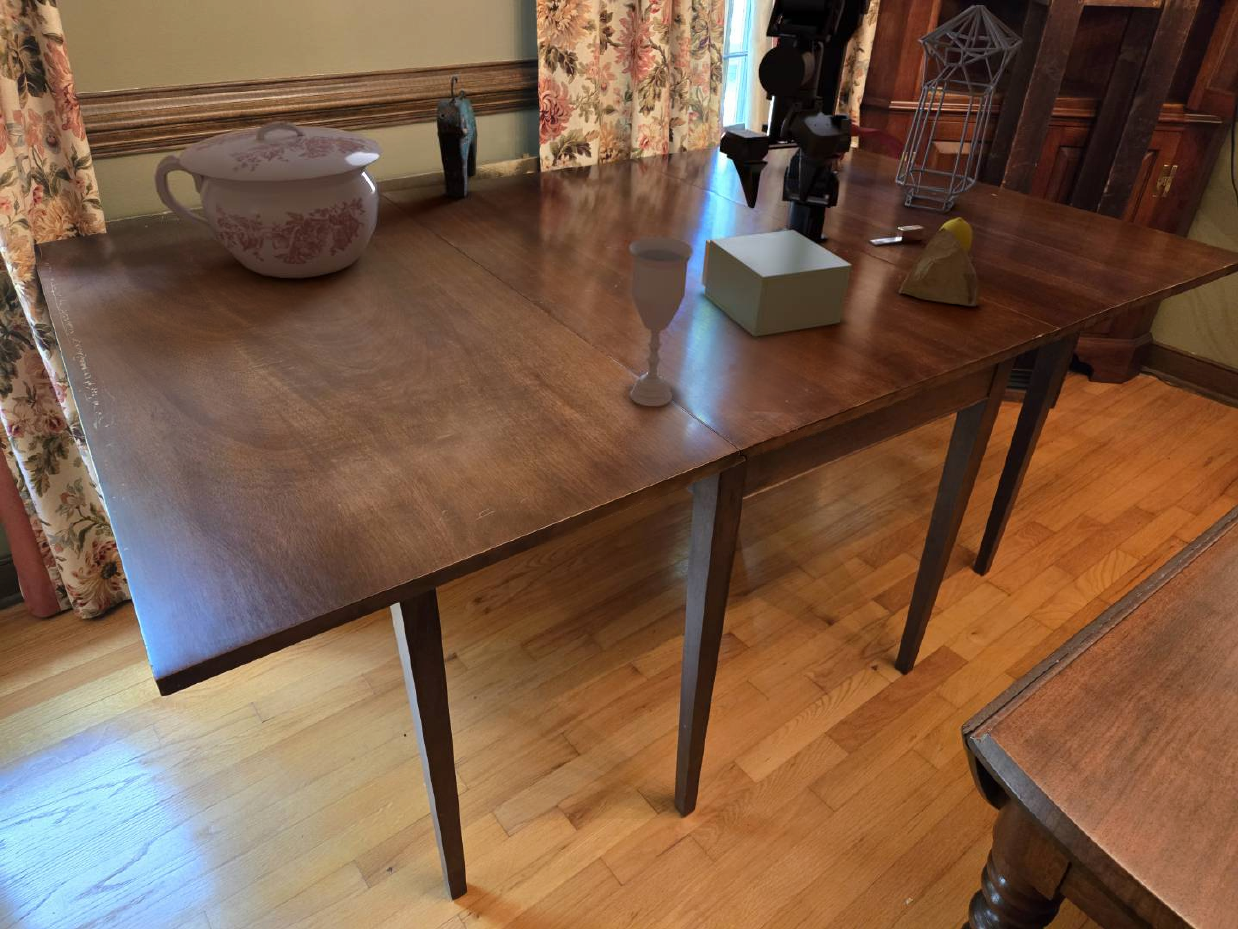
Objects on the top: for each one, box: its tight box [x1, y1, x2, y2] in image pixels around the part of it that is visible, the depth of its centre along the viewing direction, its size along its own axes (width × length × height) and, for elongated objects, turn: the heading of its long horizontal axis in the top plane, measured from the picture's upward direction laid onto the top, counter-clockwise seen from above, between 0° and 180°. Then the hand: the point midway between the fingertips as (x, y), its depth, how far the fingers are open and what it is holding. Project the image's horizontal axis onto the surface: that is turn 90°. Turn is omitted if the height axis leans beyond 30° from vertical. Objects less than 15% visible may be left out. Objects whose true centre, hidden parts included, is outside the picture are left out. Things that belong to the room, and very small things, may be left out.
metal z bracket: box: [869, 224, 925, 247], centre depth 145 cm, size 10×2×2 cm, turn 113°
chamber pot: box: [153, 120, 384, 279], centre depth 121 cm, size 28×28×21 cm
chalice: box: [628, 236, 694, 407], centre depth 93 cm, size 7×7×18 cm
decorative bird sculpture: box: [777, 122, 904, 170], centre depth 182 cm, size 28×9×15 cm
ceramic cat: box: [436, 76, 478, 198], centre depth 158 cm, size 20×6×20 cm, turn 179°
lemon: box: [940, 216, 973, 254], centre depth 135 cm, size 6×6×8 cm
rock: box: [898, 227, 981, 307], centre depth 123 cm, size 11×9×10 cm
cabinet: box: [704, 230, 853, 338], centre depth 117 cm, size 15×14×9 cm
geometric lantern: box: [894, 4, 1023, 213], centre depth 154 cm, size 16×16×35 cm
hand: (777, 204), depth 118 cm, fingers open, 9 cm apart
